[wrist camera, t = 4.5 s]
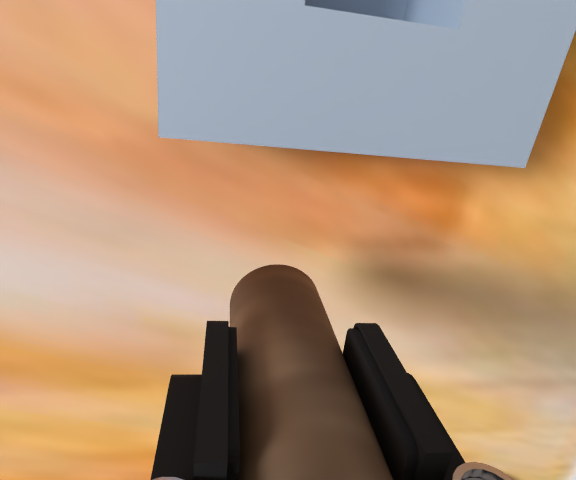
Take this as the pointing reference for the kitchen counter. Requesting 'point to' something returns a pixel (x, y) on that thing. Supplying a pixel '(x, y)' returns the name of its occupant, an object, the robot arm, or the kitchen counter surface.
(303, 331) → the peg
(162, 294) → the kitchen counter surface
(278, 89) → the hole block
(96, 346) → the kitchen counter surface
